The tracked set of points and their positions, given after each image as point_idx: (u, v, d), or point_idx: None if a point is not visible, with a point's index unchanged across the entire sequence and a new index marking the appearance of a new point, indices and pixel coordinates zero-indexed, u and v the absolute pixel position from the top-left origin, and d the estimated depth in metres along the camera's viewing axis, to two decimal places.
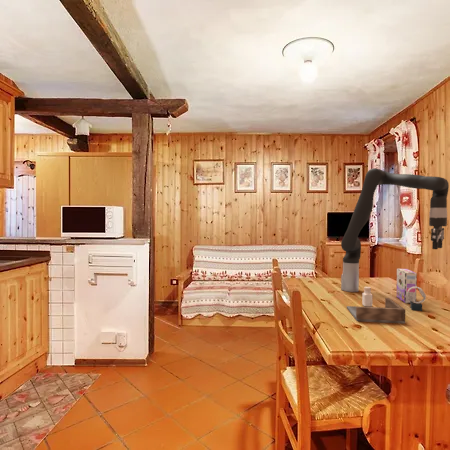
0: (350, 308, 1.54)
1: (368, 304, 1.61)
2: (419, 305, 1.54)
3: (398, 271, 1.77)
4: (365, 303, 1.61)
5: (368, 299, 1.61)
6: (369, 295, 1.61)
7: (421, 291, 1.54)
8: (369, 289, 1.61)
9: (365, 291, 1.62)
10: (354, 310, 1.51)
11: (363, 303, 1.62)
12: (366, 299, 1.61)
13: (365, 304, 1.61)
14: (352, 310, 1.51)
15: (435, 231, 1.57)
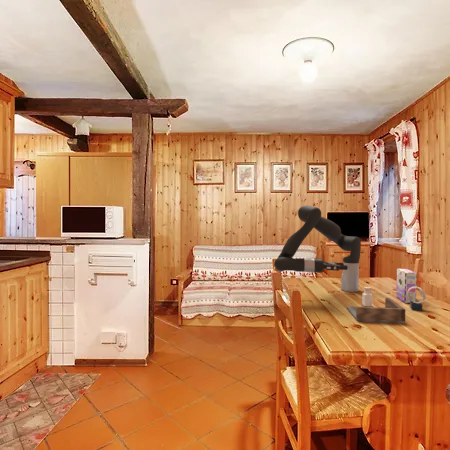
0: (350, 308, 1.54)
1: (368, 304, 1.61)
2: (419, 305, 1.54)
3: (398, 271, 1.77)
4: (365, 303, 1.61)
5: (368, 299, 1.61)
6: (369, 295, 1.61)
7: (421, 291, 1.54)
8: (369, 289, 1.61)
9: (365, 291, 1.62)
10: (354, 310, 1.51)
11: (363, 303, 1.62)
12: (366, 299, 1.61)
13: (365, 304, 1.61)
14: (352, 310, 1.51)
15: None
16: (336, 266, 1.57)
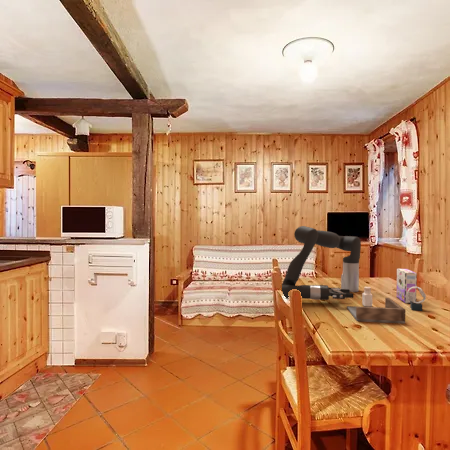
0: (350, 308, 1.54)
1: (368, 304, 1.61)
2: (419, 305, 1.54)
3: (398, 271, 1.77)
4: (365, 303, 1.61)
5: (368, 299, 1.61)
6: (369, 295, 1.61)
7: (421, 291, 1.54)
8: (369, 289, 1.61)
9: (365, 291, 1.62)
10: (354, 310, 1.51)
11: (363, 303, 1.62)
12: (366, 299, 1.61)
13: (365, 304, 1.61)
14: (352, 310, 1.51)
15: None
16: (342, 294, 1.58)
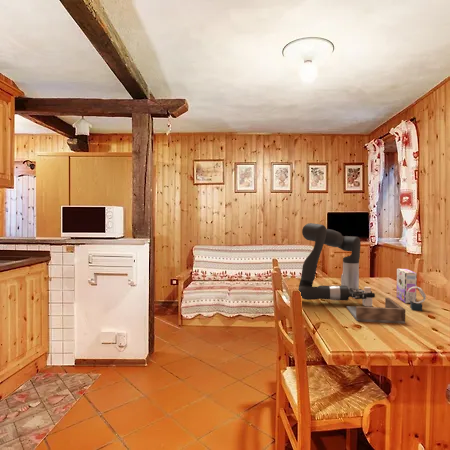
0: (350, 308, 1.54)
1: (368, 304, 1.61)
2: (419, 305, 1.54)
3: (398, 271, 1.77)
4: (365, 303, 1.61)
5: (368, 299, 1.61)
6: None
7: (421, 291, 1.54)
8: (369, 289, 1.61)
9: (365, 291, 1.62)
10: (354, 310, 1.51)
11: (363, 303, 1.62)
12: (366, 299, 1.61)
13: (365, 304, 1.61)
14: (352, 310, 1.51)
15: None
16: (364, 294, 1.58)
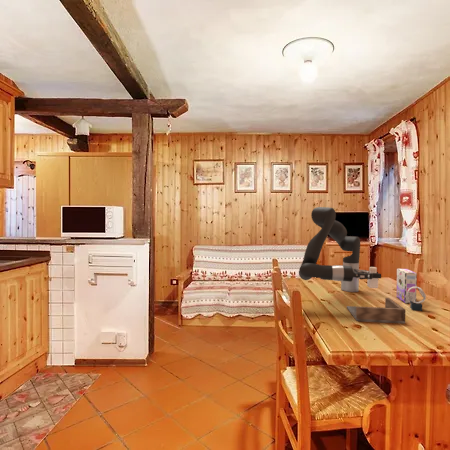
0: (350, 308, 1.54)
1: (374, 285, 1.49)
2: (419, 305, 1.54)
3: (398, 271, 1.77)
4: (370, 284, 1.50)
5: (374, 280, 1.49)
6: None
7: (421, 291, 1.54)
8: (375, 269, 1.50)
9: (371, 271, 1.50)
10: (354, 310, 1.51)
11: (368, 284, 1.51)
12: (371, 280, 1.49)
13: (370, 285, 1.50)
14: (352, 310, 1.51)
15: None
16: (370, 274, 1.46)
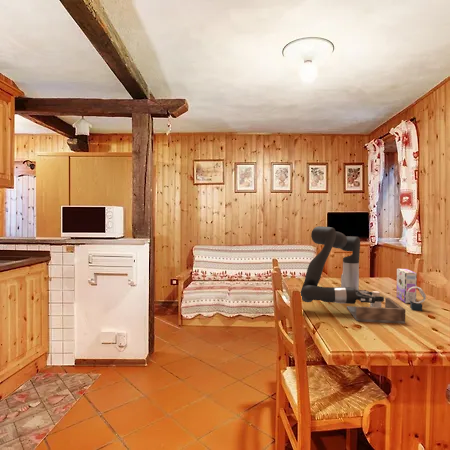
0: (350, 308, 1.54)
1: None
2: (419, 305, 1.54)
3: (398, 271, 1.77)
4: None
5: (377, 305, 1.46)
6: None
7: (421, 291, 1.54)
8: (378, 294, 1.46)
9: None
10: (354, 310, 1.51)
11: None
12: (374, 305, 1.46)
13: None
14: (352, 310, 1.51)
15: None
16: (371, 298, 1.41)
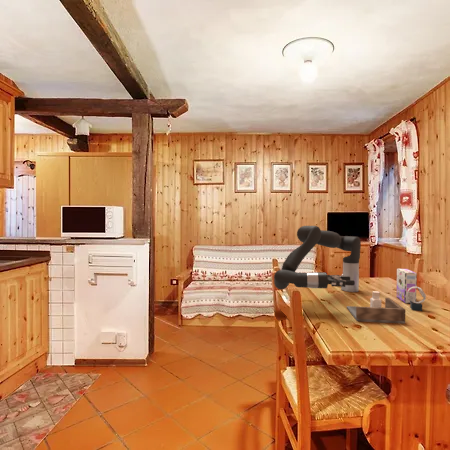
0: (350, 308, 1.54)
1: None
2: (419, 305, 1.54)
3: (398, 271, 1.77)
4: None
5: (377, 305, 1.46)
6: (378, 300, 1.46)
7: (421, 291, 1.54)
8: (378, 294, 1.46)
9: (373, 296, 1.47)
10: (354, 310, 1.51)
11: None
12: (374, 305, 1.46)
13: None
14: (352, 310, 1.51)
15: None
16: (342, 282, 1.43)
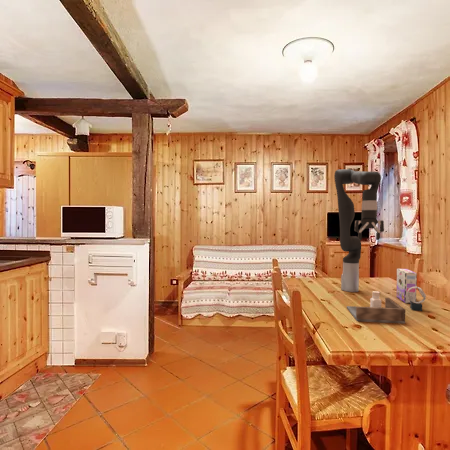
0: (350, 308, 1.54)
1: None
2: (419, 305, 1.54)
3: (398, 271, 1.77)
4: None
5: (377, 305, 1.46)
6: (378, 300, 1.46)
7: (421, 291, 1.54)
8: (378, 294, 1.46)
9: (373, 296, 1.47)
10: (354, 310, 1.51)
11: None
12: (374, 305, 1.46)
13: None
14: (352, 310, 1.51)
15: (355, 222, 1.70)
16: None
